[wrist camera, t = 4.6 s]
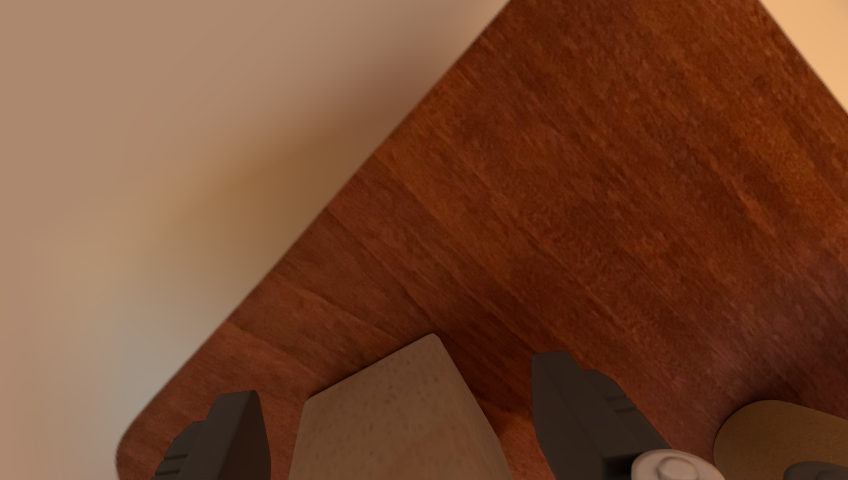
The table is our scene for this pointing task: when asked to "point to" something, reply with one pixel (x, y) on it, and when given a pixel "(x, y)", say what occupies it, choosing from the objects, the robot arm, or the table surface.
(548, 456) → the robot arm
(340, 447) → the wooden block
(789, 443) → the plant pot
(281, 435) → the table surface
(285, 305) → the table surface
